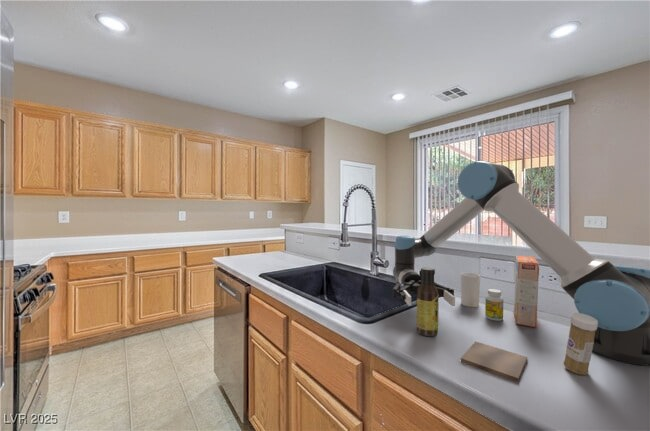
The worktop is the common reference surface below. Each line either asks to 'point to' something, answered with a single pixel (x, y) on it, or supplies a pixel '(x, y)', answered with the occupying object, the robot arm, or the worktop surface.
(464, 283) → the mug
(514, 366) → the coaster board
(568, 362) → the sprinkles bottle
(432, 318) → the sauce bottle
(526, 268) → the cracker box
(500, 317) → the supplement bottle
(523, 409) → the worktop surface
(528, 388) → the worktop surface
